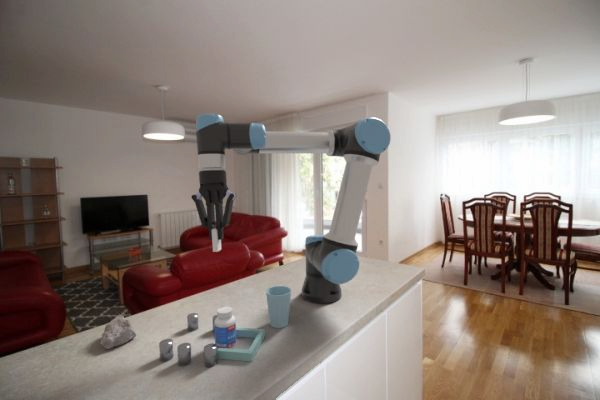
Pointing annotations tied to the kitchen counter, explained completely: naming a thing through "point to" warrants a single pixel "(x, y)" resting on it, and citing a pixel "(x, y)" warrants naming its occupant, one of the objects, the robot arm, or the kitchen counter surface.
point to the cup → (278, 305)
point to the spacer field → (189, 346)
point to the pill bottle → (225, 328)
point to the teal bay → (243, 354)
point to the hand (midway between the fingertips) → (217, 250)
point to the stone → (117, 332)
